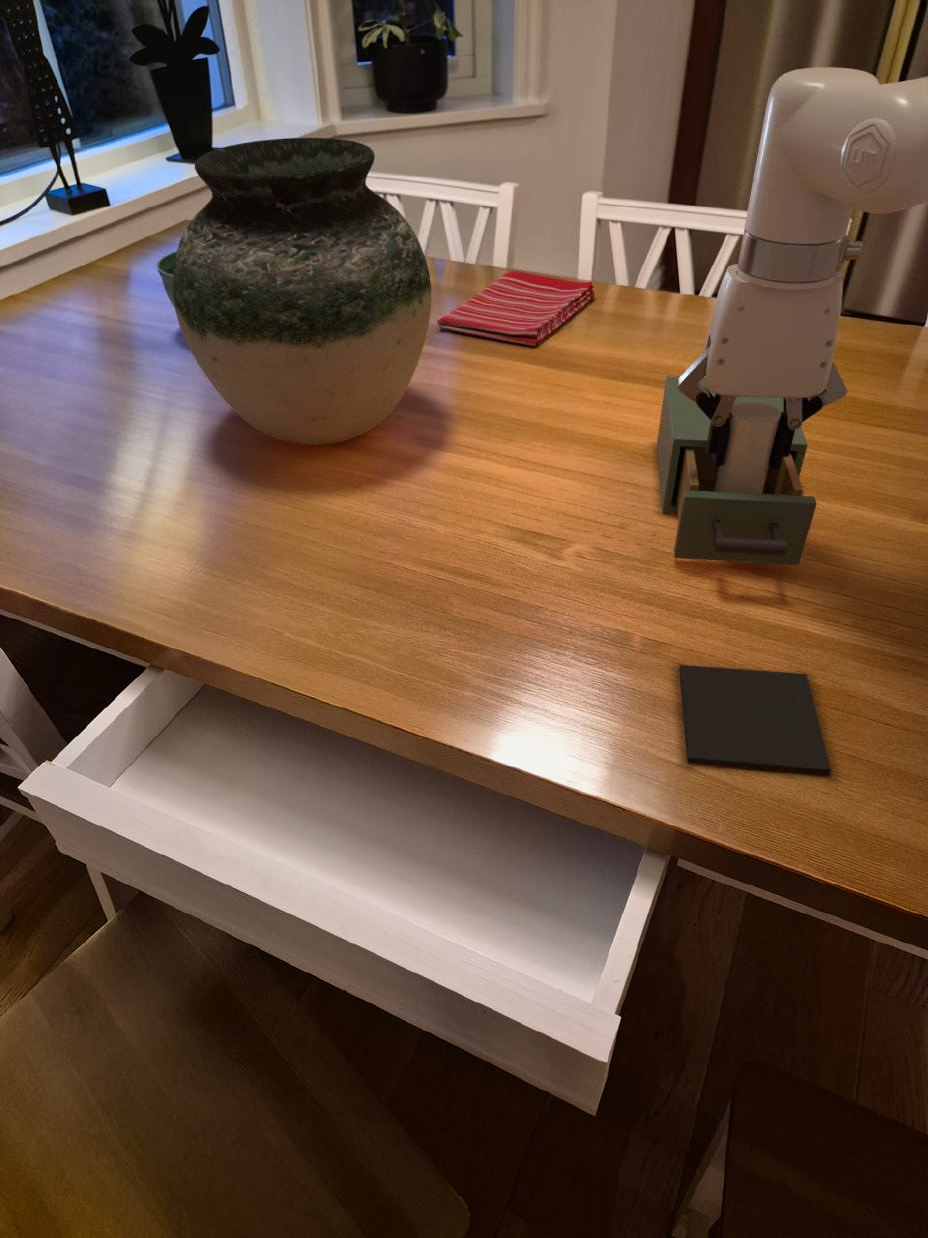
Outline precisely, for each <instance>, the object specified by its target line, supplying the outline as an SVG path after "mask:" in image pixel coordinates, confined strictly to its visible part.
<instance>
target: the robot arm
mask: <svg viewBox="0 0 928 1238" xmlns="http://www.w3.org/2000/svg"><path fill="white" fill-rule="evenodd" d="M758 145H759V146H758V152H757V157H756V162H755V168H754V172H753V177H752V185H751V190H750V196H749V200H748V206H747V212H746V217H745V218H746V219H745V224H744V230H743V235H742V241H741V246H740V252H739V258H738V264H732V265H729V266H728V267H727V268H726V270H725V273H724V275H723V278H722V281H721V284H720V287H719V289H718V293H717V296H716V298H715V299H716V300H715V303H714V307H713V311H712V315H711V319H710V323H709V327H708V331H707V336H706V341H705V346H704V351H703V352H702V353H701V354H700V355H699V357H698V358H696V360H695V361H694V362H693V363H692V364H690V366H689V367H688V368H687V369H686V370H685V371H684V372H683V373H682V374H681V375H680V376H679V377H680V378H679V379H678V381H677V383H678V389H679V391H680V392H681V393H683V394H684V395H685V396H687V397H688V398H689V399H690V400H693V401H694V402H695V403H696V404H697V406H698V407H699V408H700V409H701V410H702V411H703V412H704V414H705V415H706V416H707V417H708V418H709V419H710V420H711V423H710V429H709V434H708V440H707V448H706V449H707V453H710V454H712V456H713V462H714V466H715V467H720V466H721V465H723V462H724V457H725V452H726V447H727V442H728V437H729V432H730V428H729V423H728V415H729V413H730V411H731V409H732V406H733V404H734V402H735V400H736V398H737V396H742V397H769V398H783V412H781V418H780V422H779V426H778V430H777V434H776V439H775V443H774V447H773V451H772V455H771V460H770V465H771V468H773V469H780V466H781V462H782V458H783V457H788V456H789V453H790V449H791V445H792V441H793V437H794V433H795V430H797V429H799V428H800V427H801V428H802V425H803V423H804V422H805V421H807V420H808V419H809V418H811V417H812V416H814V415H816V414H818V412H819V411H821V410H822V409H823V408H824V407H825V406H828V405H831V404H833V403H834V402H836V401H839V400H841V399H842V398H844V397H846V396H847V394H848V389H847V387H846V385H845V382H844V380H843V378H842V377H841V375H840V373H839V370H838V369H837V366H836V365H835V362H834V357H835V351H836V346H837V340H838V334H839V328H840V327H839V326H840V319H841V312H842V305H843V304H842V303H843V291H844V277H843V273H842V271H841V268H842V267H841V266H843V264H844V262H849V260H851V261H852V260H859V259H860V257H861V255H862V251H863V241H861V240H853V239H852V238H848V235H847V234H848V233H847V232H848V228H849V225H850V221H851V217H852V213H853V209H855V210H857V211H860V212H864V213H868V214H881V215H882V214H883V215H884V214H892V213H896V212H900V211H903V210H906V209H909V208H913V207H917V206H920V205H922V204H927V203H928V75H927V76H922V77H917V78H916V79H915V78H914V79H908V80H904V81H898V82H889V83H880V82H879V80H878V79H877V77H876V76H875V75H874V74H872V73H869V72H867V71H865V70H861V69H856V68H855V69H854V68H847V67H835V66H832V67H826V66H825V67H823V66H822V67H821V66H820V67H806V68H805V67H804V68H798V69H793V70H791V71H788V72H785V73H783V74H782V75H781V76H779V77H778V78H777V80H776V81H775V82H774V83H773V85H772V87H771V88H770V91H769V94H768V98H767V103H766V107H765V113H764V119H763V124H762V129H761V134H760V139H759V144H758ZM703 378H706V387H707V389H708V390H709V391H711V392H713V393H715V394H714V396H713V395H712V394H711V393H710V392H709V391H708V390H707V389H706V388H703V387H702V386H701V385H700V384H699V382H700V381H701V380H702V379H703Z"/></svg>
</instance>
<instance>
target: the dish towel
mask: <svg viewBox="0 0 928 1238" xmlns="http://www.w3.org/2000/svg"><path fill="white" fill-rule="evenodd" d="M594 287H595V286H594V285H593V282H592V281H591V280H590V281H573V280H566V279H563V278H557V277H551V276H547V275H546V276H545V275H539V274H535V273H528V272H524V271H517V270H512V271H507V272H505V273H503V274H502V275H501V276H500V277H499V278H497V279H496V280H494V281H493V282H492V283H490V284H489V285H487V286H486V287H484V288H483V289H482V290H481V291H479V292H478V293H476V294H475V295H473V296H472V297H471V298H469V299H467V300H466V301H465V302H464V303H462V304H460V305H459V306H458V307H456V308H454V309H452V310H451V311H450V312H448V313H446V314H443V316H442V317H440V318H439V319H438V320H436V322H437V325H438V326H439V328H440V329H443V330H447V331H452V332H457V333H461V334H467V335H472V336H476V337H483V338H487V339H494V340H498V341H502V342H509V343H513V344H521V345H526V346H529V347H536V346H537V345H539V344H541V343H542V342H543V341H544V340H545V339H546V338H547V337H549V336H550V334H551V333H553V332H555V331H556V330H557V329H558V328H559V327H560V326H561V325H563V324H564V323H565V322H567V321H568V320H570V319H571V317H573V316H574V315H576V314H577V312H579V311H580V310H581V309H583V308H584V307H585V306H586V305H587V304H589V303H590V302H591V301H592V300H594V298H595V295H596V293H595V292H594Z"/></svg>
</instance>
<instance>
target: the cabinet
mask: <svg viewBox="0 0 928 1238" xmlns="http://www.w3.org/2000/svg"><path fill="white" fill-rule="evenodd" d="M680 377H681V376H669V375H668V376H666V377H665V384H664V390H663V398H662V405H661V411H660V419H659V426H658V432H657V433H658V434H657V441H656V452H657V465H658V476H659V487H660V488H659V491H660V501H661V513H662V514H669V515H670V514H671V515H673V514H674V515H678V510H677V501H676V492H675V479H676V473H677V467H678V461H679V454H680V448H681V446H689V447H707V440H708V434H709V429H710V423H711V420H710V419H709V418H708V417H707V416H706V415H705V414H704V412H703V411H702V410H701V409H700V408H699V407H698V406H697V404H696V403H695V402H694V401H693V400H690V399H689V398H688V397H687V396H685V395H684V394H683V393H681V392H680V391H679V389H678V383H677V381H678V379H679V378H680ZM699 384H700V385H701V386H702V387H703V388H706V389H707V387H706V377H704V378H703V379H702V380H701V381H700V382H699ZM707 390H708V389H707ZM708 391H709V390H708ZM709 392H710V393H711V394H712V395H713V396H714V394H715V393H713V392H711V391H709ZM744 401H756V402H763V403H767V404H770V405H772V406H774V407H776V408H777V409H778V410H779V411H780V413H781V412H783V398H769V397H742V396H737V398H736V400H735V402H734V404H736V403H739V402H744ZM734 404H733V405H734ZM728 417H729V415H728ZM808 446H809V444H808V441H807V439H806V436H805V434H804V431H803V428H802V426H801V427H800V428H799V429H797V430H795V433H794V437H793V441H792V445H791V449H790V453H791V456H792V459H793V462H794V465H795V468H796V471H797V474H798V477H799V478H800V475H801V472H802V468H803V465H804V460H805V456H806V453H807V449H808Z"/></svg>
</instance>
